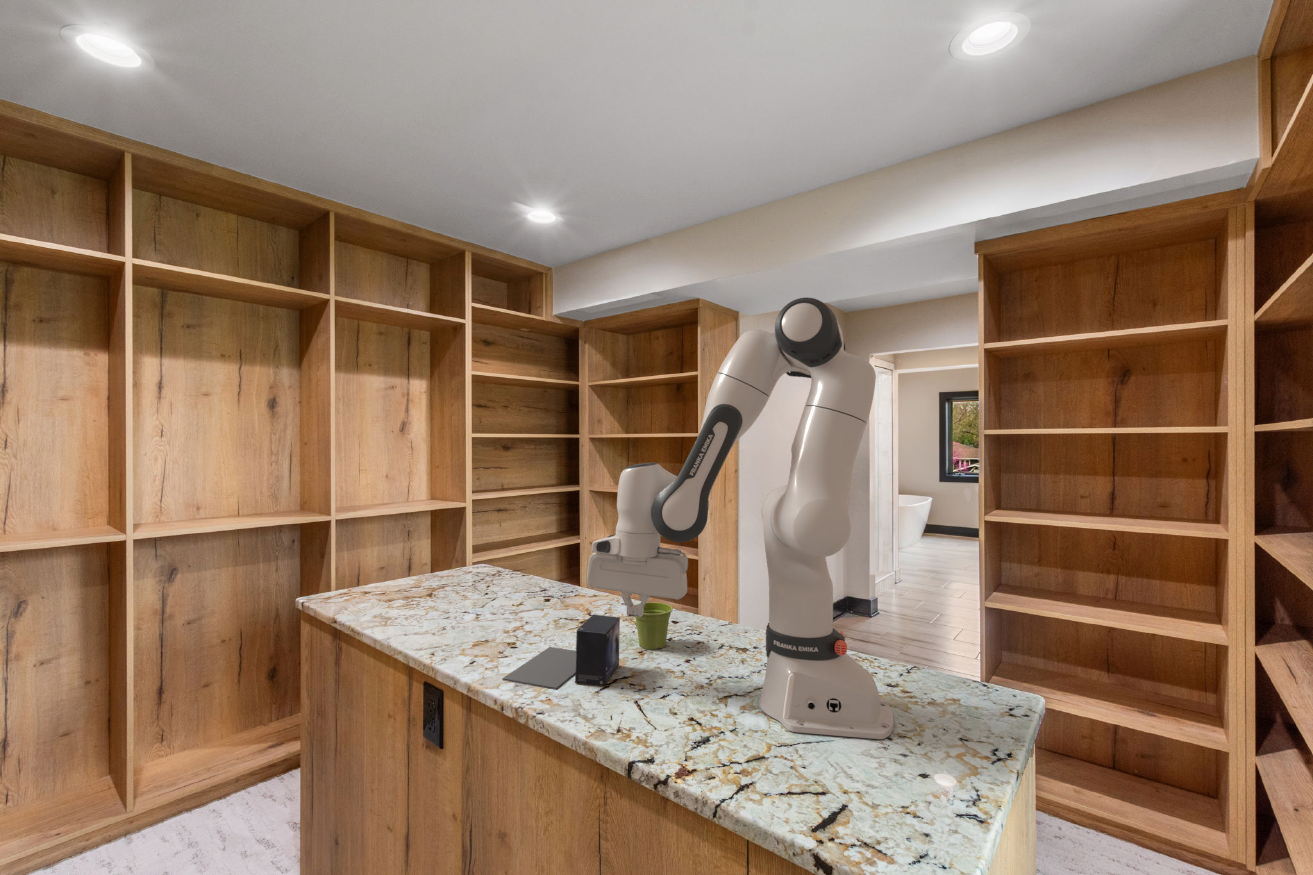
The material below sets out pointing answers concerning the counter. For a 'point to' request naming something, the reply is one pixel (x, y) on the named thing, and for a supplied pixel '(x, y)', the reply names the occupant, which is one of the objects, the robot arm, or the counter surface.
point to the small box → (597, 650)
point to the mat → (546, 669)
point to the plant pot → (653, 625)
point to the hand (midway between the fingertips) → (634, 615)
